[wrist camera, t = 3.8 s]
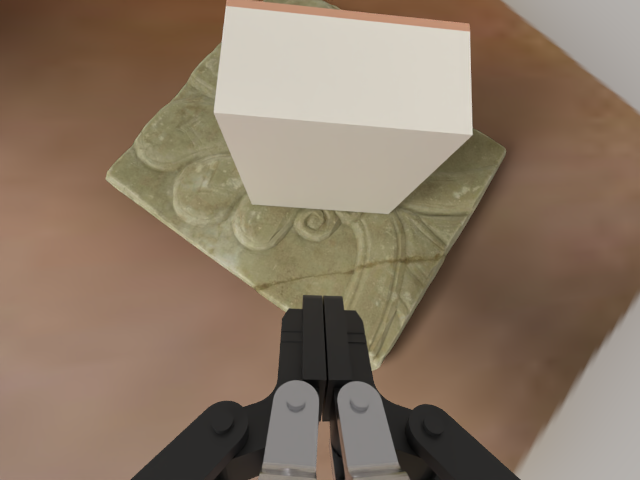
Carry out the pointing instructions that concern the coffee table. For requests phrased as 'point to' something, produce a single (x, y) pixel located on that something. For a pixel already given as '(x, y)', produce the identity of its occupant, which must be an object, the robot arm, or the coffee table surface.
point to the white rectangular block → (340, 103)
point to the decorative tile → (300, 216)
